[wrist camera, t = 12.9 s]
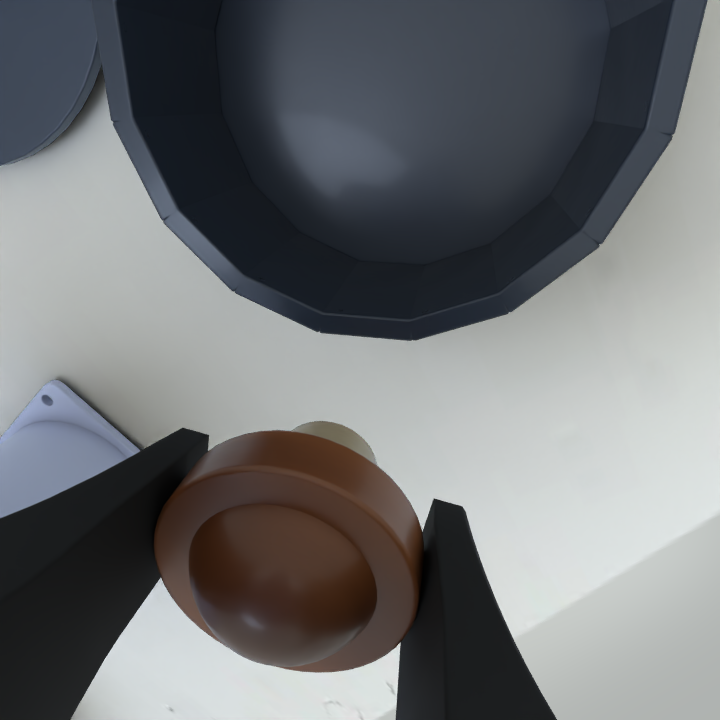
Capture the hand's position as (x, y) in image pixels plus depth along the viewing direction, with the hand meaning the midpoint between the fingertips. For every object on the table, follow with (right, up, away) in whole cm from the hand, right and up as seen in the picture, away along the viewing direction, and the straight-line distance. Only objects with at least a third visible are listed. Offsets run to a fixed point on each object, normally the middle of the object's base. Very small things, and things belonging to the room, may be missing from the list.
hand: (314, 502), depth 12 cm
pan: (+2, +11, +4) cm, 12 cm away
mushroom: (0, +1, +1) cm, 1 cm away
